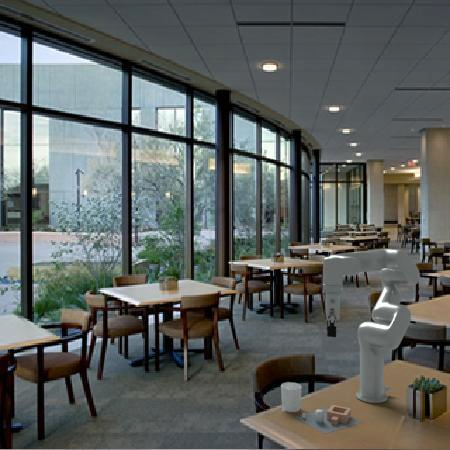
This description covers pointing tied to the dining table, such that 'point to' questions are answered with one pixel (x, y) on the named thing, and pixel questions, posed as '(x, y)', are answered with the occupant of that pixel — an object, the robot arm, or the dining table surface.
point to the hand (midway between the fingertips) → (331, 333)
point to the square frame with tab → (338, 414)
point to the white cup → (291, 397)
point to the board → (324, 421)
